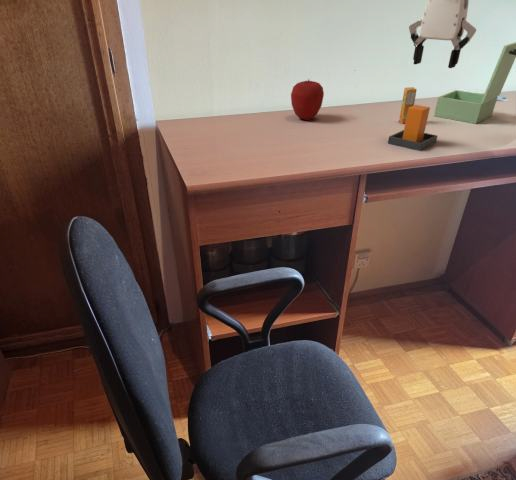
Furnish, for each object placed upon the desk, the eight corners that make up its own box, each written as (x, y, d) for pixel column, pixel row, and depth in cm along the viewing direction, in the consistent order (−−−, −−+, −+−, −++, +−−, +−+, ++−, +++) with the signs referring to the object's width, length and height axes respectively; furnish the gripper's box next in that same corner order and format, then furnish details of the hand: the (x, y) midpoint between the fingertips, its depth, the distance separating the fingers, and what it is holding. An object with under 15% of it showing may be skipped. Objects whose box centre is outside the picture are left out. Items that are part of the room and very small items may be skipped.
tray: (436, 142, 132) (437, 135, 130) (420, 150, 126) (421, 143, 125) (404, 135, 137) (405, 128, 136) (387, 143, 131) (388, 136, 130)
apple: (291, 113, 156) (293, 75, 148) (322, 115, 155) (325, 76, 147) (288, 122, 148) (289, 82, 140) (320, 123, 146) (324, 83, 139)
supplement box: (397, 121, 149) (404, 86, 142) (407, 120, 149) (414, 86, 142) (400, 123, 146) (407, 89, 140) (411, 123, 146) (418, 89, 140)
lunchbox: (433, 115, 154) (438, 97, 150) (451, 108, 162) (455, 90, 158) (475, 123, 146) (481, 104, 142) (491, 115, 154) (497, 96, 150)
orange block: (422, 141, 131) (430, 107, 125) (415, 144, 129) (422, 110, 123) (408, 138, 134) (415, 104, 128) (401, 141, 131) (408, 107, 125)
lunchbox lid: (504, 45, 131) (523, 50, 129) (520, 40, 139) (538, 44, 137) (480, 102, 142) (497, 107, 140) (497, 94, 150) (513, 99, 148)
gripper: (493, -18, 106) (471, 66, 117) (424, -18, 115) (410, 60, 126) (481, -16, 102) (460, 71, 113) (410, -17, 110) (397, 64, 122)
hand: (433, 65), depth 119 cm, fingers open, 9 cm apart
